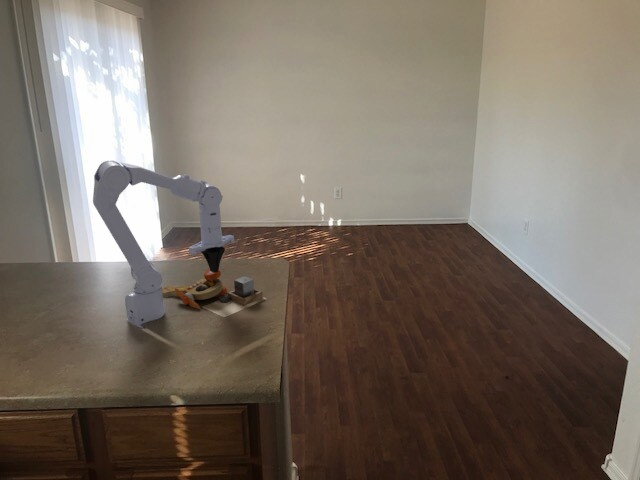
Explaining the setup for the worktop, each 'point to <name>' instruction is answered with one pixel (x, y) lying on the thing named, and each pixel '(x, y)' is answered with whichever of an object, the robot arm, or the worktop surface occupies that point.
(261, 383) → the worktop surface
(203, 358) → the worktop surface
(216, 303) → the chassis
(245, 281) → the grey rectangular block
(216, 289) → the toy helicopter
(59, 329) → the worktop surface
